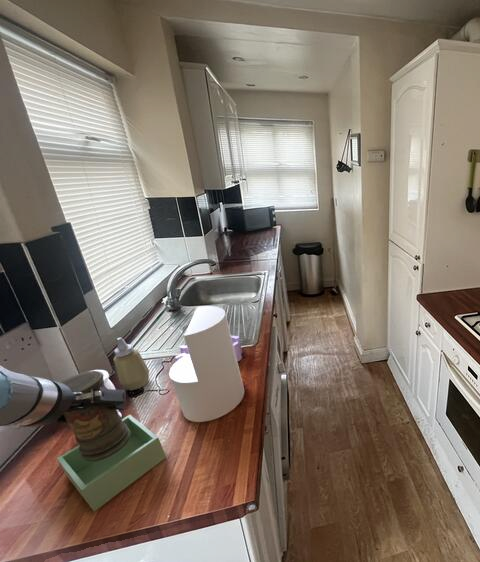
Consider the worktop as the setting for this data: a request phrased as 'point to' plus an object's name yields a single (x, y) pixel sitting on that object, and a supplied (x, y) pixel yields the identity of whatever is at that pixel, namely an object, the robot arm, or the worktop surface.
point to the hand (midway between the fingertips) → (100, 409)
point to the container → (95, 421)
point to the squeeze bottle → (130, 366)
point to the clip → (235, 343)
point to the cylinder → (207, 368)
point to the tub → (113, 465)
